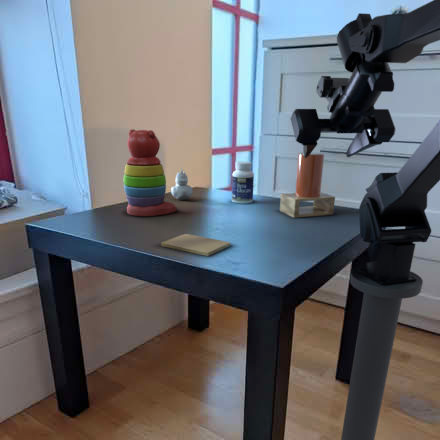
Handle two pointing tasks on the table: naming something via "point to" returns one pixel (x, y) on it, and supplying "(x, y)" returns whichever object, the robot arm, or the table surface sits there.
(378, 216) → the robot arm
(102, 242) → the table surface
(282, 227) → the table surface
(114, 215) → the table surface
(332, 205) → the box
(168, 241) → the cork mat
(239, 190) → the pill bottle
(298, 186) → the cylinder
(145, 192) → the stacking bear
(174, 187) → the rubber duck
